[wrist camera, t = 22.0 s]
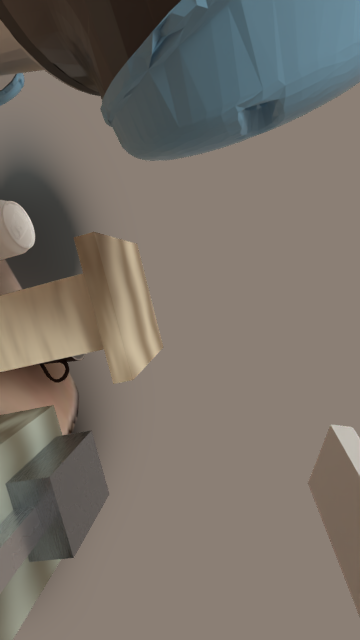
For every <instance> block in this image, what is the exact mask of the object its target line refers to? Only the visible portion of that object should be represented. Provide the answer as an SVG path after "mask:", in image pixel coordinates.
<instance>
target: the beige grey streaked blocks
mask: <svg viewBox="0 0 360 640" xmlns="http://www.w3.org/2000/svg"><path fill="white" fill-rule="evenodd" d="M74 240H75V244H76V247H77V251H78V255H79V259H80V262H81V266H82V269H83V274H79V275H76V276H72V277H68V278H65V279H61V280H57V281H54V282H49V283H46V284H42V285H38V286H35V287H31V288H27V289H23V290H19V291H16V292H12V293H8V294H4V295H1V296H0V372H3V371H8V370H12V369H17V368H21V367H26V366H30V365H35V364H39V363H44V362H49V361H53V360H58V359H62V358H67V357H71V356H76V355H80V354H85V353H89V352H94V351H98V350H103V349H104V350H105V354H106V358H107V362H108V365H109V369H110V373H111V376H112V380H113V384H115V383H120V382H125V381H130V380H133V379H134V378H135V377H136V376H137V375H138V374H139V373H140V372H141V371H142V370H143V369H144V368H145V367H146V365H147V364H148V363H149V362H150V361H151V360H152V359H153V358H154V357H155V356H156V355H157V354H158V353H159V351H160V350H161V349H162V348H163V345H162V341H161V337H160V333H159V329H158V325H157V321H156V317H155V313H154V309H153V305H152V301H151V297H150V293H149V289H148V285H147V281H146V277H145V274H144V270H143V266H142V262H141V258H140V254H139V250H138V246H137V244H135V243H132V242H128V241H125V240H121V239H117V238H114V237H110V236H107V235H103V234H100V233H96V232H92V233H88V234H85V235H81V236H78V237H74ZM57 436H62V432H61V429H60V425H59V422H58V419H57V415H56V412H55V408H54V405H52V406H46V407H41V408H36V409H31V410H26V411H20V412H15V413H10V414H5V415H0V524H1V523H2V522H3V521H4V519H5V518H6V517H7V516H8V515H9V514H10V513H11V512H12V511H13V507H12V504H11V501H10V498H9V494H8V491H7V488H6V485H5V483H6V482H8V481H9V480H10V479H11V478H12V477H13V476H14V475H15V474H16V473H17V472H18V471H19V470H21V469H22V468H23V467H24V466H25V465H26V464H27V463H28V462H29V461H30V460H31V459H32V458H34V457H35V456H36V455H37V454H38V453H39V452H40V451H41V450H42V449H43V448H44V447H45V446H47V445H48V444H49V443H50V442H51V441H52V440H53V439H54V438H55V437H57ZM60 560H61V559H56V560H46V561H36V562H29V558H28V556H27V558H26V559H25V560H24V562H23V563H22V565H21V566H20V567H19V569H18V570H17V571H16V573H15V574H14V576H13V577H12V578H11V580H10V581H9V582H8V584H7V585H6V587H5V588H4V589H3V591H2V592H1V594H0V640H13V639H14V637H15V635H16V634H17V632H18V630H19V629H20V627H21V626H22V624H23V622H24V620H25V619H26V617H27V615H28V614H29V612H30V610H31V609H32V607H33V605H34V604H35V602H36V600H37V599H38V597H39V595H40V593H41V592H42V590H43V589H44V587H45V585H46V584H47V582H48V580H49V579H50V577H51V575H52V574H53V572H54V570H55V569H56V567H57V565H58V564H59V562H60Z"/></svg>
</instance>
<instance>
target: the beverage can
mask: <svg viewBox="0 0 360 640" xmlns="http://www.w3.org/2000/svg"><path fill="white" fill-rule="evenodd" d="M34 242H35V232H34V228H33V225H32V222H31V220H30V218H29V216H28V214H27V213H26V212H25V210H24V209H23V208H22V207H21V206H20V205H19V204H17V203H16V202H13V201H4V200H0V260H2V259H6V258H9V257H13V256H16V255H19V254H23V253H25V252H26V251H27V250H28V249H29V248H31V247H32V246H33V245H34Z"/></svg>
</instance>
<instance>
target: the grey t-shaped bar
mask: <svg viewBox="0 0 360 640" xmlns="http://www.w3.org/2000/svg"><path fill="white" fill-rule="evenodd" d="M5 485H6V488H7V491H8V494H9V498H10V501H11V504H12V507H13V511H12V512H11V513H10V514H9V515H8V516H7V517H6V518H5V519H4V521H3V522H2V523H1V524H0V594H1V592H2V591H3V589H4V588H5V587H6V585H7V584H8V582H9V581H10V580H11V578H12V577H13V576H14V574H15V573H16V571H17V570H18V569H19V567H20V566H21V565H22V563H23V562H24V560H25V559H26V558H27V556H28V558H29V562H36V561H46V560H56V559H65V558H74V556H75V554H76V553H77V551H78V549H79V547H80V546H81V544H82V542H83V540H84V538H85V537H86V535H87V533H88V531H89V529H90V528H91V526H92V524H93V522H94V521H95V519H96V517H97V515H98V513H99V512H100V510H101V508H102V506H103V505H104V503H105V501H106V499H107V497H108V496H109V491H108V488H107V484H106V481H105V477H104V473H103V470H102V466H101V463H100V459H99V456H98V452H97V449H96V445H95V441H94V438H93V434H92V431H86V432H81V433H75V434H69V435H63V436H57V437H55V438H54V439H53V440H52V441H51V442H50V443H49V444H48V445H47V446H45V447H44V448H43V449H42V450H41V451H40V452H39V453H38V454H37V455H36V456H35V457H34V458H32V459H31V460H30V461H29V462H28V463H27V464H26V465H25V466H24V467H23V468H22V469H21V470H19V471H18V472H17V473H16V474H15V475H14V476H13V477H12V478H11V479H10V480H9V481H8V482H6V483H5Z"/></svg>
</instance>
